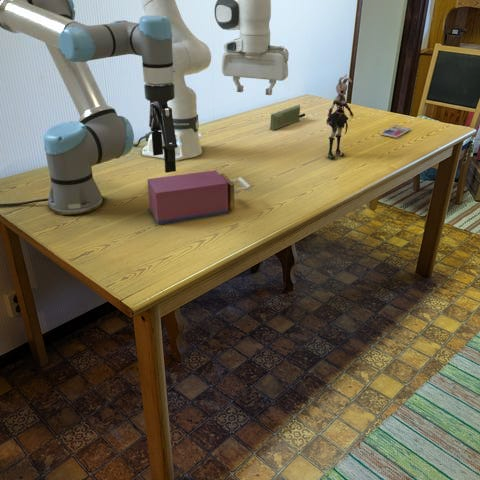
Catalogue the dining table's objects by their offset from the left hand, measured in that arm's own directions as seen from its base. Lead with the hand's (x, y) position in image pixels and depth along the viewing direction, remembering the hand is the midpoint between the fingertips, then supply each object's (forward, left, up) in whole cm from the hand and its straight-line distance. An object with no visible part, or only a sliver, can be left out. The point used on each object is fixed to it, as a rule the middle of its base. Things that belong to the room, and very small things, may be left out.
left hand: (164, 162), depth 138 cm
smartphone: (+78, +89, -16) cm, 119 cm away
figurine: (+50, +56, -16) cm, 77 cm away
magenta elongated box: (+6, +3, -16) cm, 17 cm away
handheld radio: (+32, +95, -16) cm, 102 cm away
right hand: (+22, +27, +13) cm, 37 cm away
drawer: (+11, +6, -15) cm, 19 cm away
